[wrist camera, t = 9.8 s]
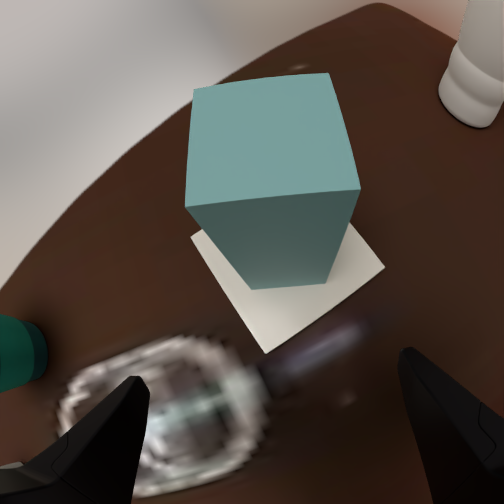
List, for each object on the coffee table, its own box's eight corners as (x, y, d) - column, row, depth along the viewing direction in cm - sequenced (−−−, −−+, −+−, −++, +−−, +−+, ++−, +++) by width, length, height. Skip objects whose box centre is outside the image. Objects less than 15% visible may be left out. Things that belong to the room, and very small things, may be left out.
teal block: (325, 283, 20) (360, 189, 8) (251, 289, 21) (185, 206, 9) (317, 214, 22) (328, 73, 10) (247, 221, 23) (193, 89, 10)
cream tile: (380, 271, 21) (385, 267, 20) (267, 353, 21) (265, 354, 20) (300, 173, 25) (300, 165, 23) (195, 242, 24) (190, 237, 23)
